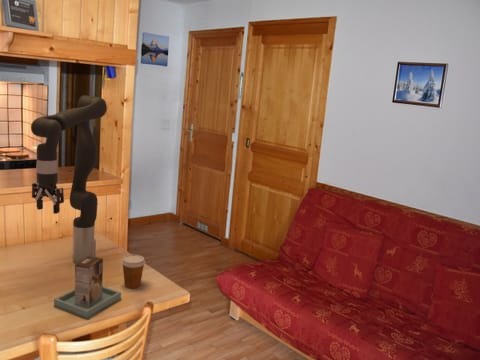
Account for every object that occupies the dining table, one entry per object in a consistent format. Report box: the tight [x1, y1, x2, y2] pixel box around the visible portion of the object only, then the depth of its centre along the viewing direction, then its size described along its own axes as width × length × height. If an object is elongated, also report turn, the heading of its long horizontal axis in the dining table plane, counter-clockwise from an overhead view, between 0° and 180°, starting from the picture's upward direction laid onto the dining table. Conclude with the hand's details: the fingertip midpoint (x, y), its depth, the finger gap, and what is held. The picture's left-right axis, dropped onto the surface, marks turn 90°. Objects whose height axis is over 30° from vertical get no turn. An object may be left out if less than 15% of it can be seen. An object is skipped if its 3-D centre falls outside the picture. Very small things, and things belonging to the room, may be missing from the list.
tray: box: [53, 285, 122, 320], centre depth 168 cm, size 18×16×3 cm
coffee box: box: [74, 256, 104, 307], centre depth 166 cm, size 9×6×16 cm
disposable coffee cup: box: [121, 254, 146, 290], centre depth 184 cm, size 10×10×12 cm
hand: (48, 211), depth 173 cm, fingers open, 8 cm apart
